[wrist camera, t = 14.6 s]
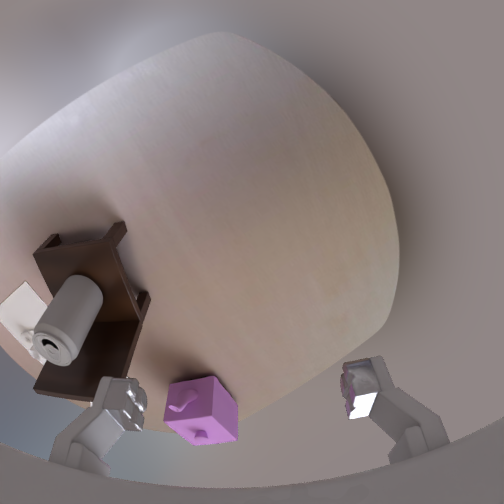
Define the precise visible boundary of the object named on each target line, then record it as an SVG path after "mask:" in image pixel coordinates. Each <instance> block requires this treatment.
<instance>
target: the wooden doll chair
mask: <svg viewBox="0 0 504 504" xmlns="http://www.w3.org/2000/svg"><path fill="white" fill-rule="evenodd" d="M126 232H127V228H126V225H125V222H124V221H123V222H117V223H114V225H113V226H112V227H111V228H110V230H109V231H108V232H107V233H106V235H105V236H104V237H103V238H102V239H98V240H91V241H85V242H79V243H73V244H68V245H62V246H58V245H59V244H60V243H61V239H60V237H59V234H53V235H51V236H50V237H49V238H48V239H47V240H46V241H45V242H44V243H43V244H42V245H41V246H40V247H39V248H38V249H37V250H36V251H35V252H34V253H33V256H34V258H35V261H36V263H37V265H38V267H39V269H40V272H41V274H42V276H43V278H44V280H45V282H46V284H47V286H48V288H49V290H50V292H51V294H52V296H53V298H54V297H55V295H56V294H57V292H58V291H59V290H60V288H61V287H62V285H63V284H64V282H65V281H66V280H67V279H68V278H69V277H70V276H73V275H82V276H85V277H87V278H89V279H91V280H92V281H93V282H94V283H95V284H96V285H97V286H98V287H99V289H100V290H101V292H102V295H103V304H102V306H101V308H100V310H99V312H98V314H97V316H96V318H95V320H94V322H93V324H92V326H91V328H90V330H89V332H88V334H87V336H86V339H85V341H84V343H83V345H82V347H81V349H80V351H79V354H78V356H77V358H76V359H74V360H72V362H71V364H70V365H68V366H59V365H56V364H53V363H51V362H50V361H48V360H46V362H45V364H44V366H43V368H42V370H41V372H40V375H39V377H38V379H37V381H36V383H35V385H34V387H33V389H34V390H35V392H36V393H37V394H42V395H47V396H53V397H59V398H65V399H72V400H79V401H87V402H93V401H94V398H95V395H96V392H97V389H98V386H99V383H100V380H101V378H102V377H103V376H105V377H120V378H126V376H127V373H128V370H129V367H130V363H131V360H132V357H133V354H134V351H135V347H136V344H137V341H138V338H139V335H140V332H141V329H142V324H143V321H144V318H145V316H146V313H147V310H148V307H149V304H150V301H151V298H150V296H149V293H148V292H143V293H139V295H138V297H137V300H135V297H134V295H133V292H132V290H131V287H130V285H129V282H128V280H127V277H126V274H125V272H124V269H123V266H122V264H121V261H120V258H119V255H118V252H117V250H116V247H117V245H118V244H119V242H120V241H121V240H122V238H123V237H124V235H125V234H126Z"/></svg>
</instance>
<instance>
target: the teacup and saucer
mask: <svg viewBox="0 0 504 504" xmlns="http://www.w3.org/2000/svg"><path fill="white" fill-rule="evenodd" d="M33 335H34V329H30V330H28V331H22V332H21V333H20V335H19V337H20V339H21V341H22V342H24V343H25V344H26V345H30V346H31V347H30V348H29V350H28V351H29V354H30V355H31V356H32V357H33V358H35V359H37V360H38V361H40V360H43V359H44V357H43V356H41V355H40V354H39V353H38V351H37V350H36V349H35V347H34V345H33V342H32V337H33Z"/></svg>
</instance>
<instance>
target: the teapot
mask: <svg viewBox="0 0 504 504" xmlns="http://www.w3.org/2000/svg"><path fill="white" fill-rule="evenodd" d="M163 421H164V422H165V423H166V424H167V425H168V426H169V427H171V428H172V429H173V430H174V431H175V432H177V433H178V434H179V435H181V436H182V437H183V438H184V439H186V440H187V441H188V442H190V443H191V444H192V445H206V444H219V443H223V442H231V441H237V440H238V405H237V403H236V402H235V401H234V400H233V399H232V397H231V396H230V393H228V392H227V391H226V390H225V389H224V387H223V386H222V385H221V384H220V382H219V381H218V378H217V377H215V376H208V377H206V378H201V379H196V380H190V381H181V382H179V383H173V384H170V385H169V391H168V396H167V402H166V408H165V414H164V420H163Z"/></svg>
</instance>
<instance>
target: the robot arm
mask: <svg viewBox="0 0 504 504" xmlns="http://www.w3.org/2000/svg"><path fill="white" fill-rule="evenodd" d="M342 369H343V372H344V373H343V374H342V375H341V379H340V383H341V392H342V396H343V397H344V398H345V399H347V400H346V404H345V407H346V411H347V415H348V419H354V418H359V417H364V416H369V417H370V418H371V419H372V420H373V421H374V422H375V423H376V424H377V425H378V426H379V427H380V428H382V430H384V431H385V432H386V433H387V434H388V435H389V436H390V437H391V438H392V439H393V440H394V441H395V442H396V445H395V446H394V447H393V449H392V450H391V451H390V453H389V454H388V457H389V461H390V465H386V466H383V467H380V468H376V469H372V470H368V471H364V472H360V473H355V474H351V475H346V476H341V477H336V478H331V479H326V480H319V481H313V482H306V483H298V484H290V485H281V486H270V487H269V486H268V487H252V488H195V487H179V486H167V485H158V484H149V483H142V482H135V481H128V480H123V479H118V478H112V477H109V474H110V466H109V465H108V464H106V463H105V462H103V461H102V460H101V459H102V458H103V457H104V456H105V455H106V453H107V452H108V451H109V450H110V448H111V447H112V446H113V445H114V443H115V442H116V441H117V440H118V438H119V437H120V436H121V435H122V434H123V432H124V430H128V431H142V428H143V423H144V417H143V415H142V413H143V412H144V411H145V410H146V408H147V396H146V392H145V391H144V389H142V388H141V387H139V382H138V380H137V379H136V378H120V377H105V376H103V377H102V378H101V380H100V383H99V386H98V389H97V392H96V395H95V398H94V401H93V404H92V407H88V408H87V409H86V410H85V411H84V412H83V413H82V414H80V415H79V416H78V417H77V418H76V419H75V420H74V421H73V422H72V423H71V424H70V425H68V426H67V427H66V428H65V429H64V430H63V431H62V432H61V433H60V434H59V435H57V436H56V438H55V441H54V444H53V448H52V451H51V454H50V458H49V461H47V460H44V459H41V458H38V457H36V456H33V455H30V454H27V453H25V452H22V451H20V450H17V449H15V448H12V447H10V446H8V445H5V444H3V443H1V442H0V504H504V417H502V418H501V419H499V420H497V421H495V422H493V423H492V424H490V425H488V426H486V427H484V428H482V429H480V430H478V431H476V432H474V433H472V434H469V435H467V436H465V437H463V438H461V439H458V440H456V441H454V442H451V443H450V441H449V439H448V436H447V434H446V431H445V429H444V426H443V423H442V421H441V418H440V416H438V415H437V414H435V413H434V412H432V411H431V410H430V409H428V408H427V407H425V406H424V405H423V404H421V403H420V402H418V401H417V400H415V399H414V398H413V397H411V396H410V395H408V394H407V393H406V392H404V391H403V390H401V389H400V388H395V387H394V384H393V382H392V379H391V377H390V374H389V372H388V369H387V367H386V364H385V362H384V359H383V357H382V356H376V357H371V358H365V359H360V360H355V361H350V362H345V363H344V364H343V367H342Z"/></svg>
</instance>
